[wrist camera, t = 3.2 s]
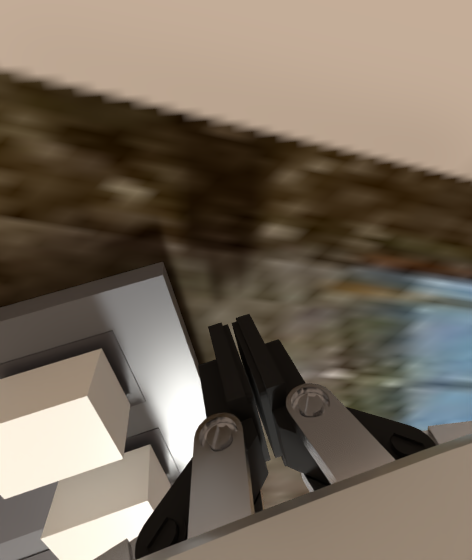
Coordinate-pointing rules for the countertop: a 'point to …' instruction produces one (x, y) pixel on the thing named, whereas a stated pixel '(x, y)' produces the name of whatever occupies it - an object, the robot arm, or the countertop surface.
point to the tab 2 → (104, 505)
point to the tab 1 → (60, 422)
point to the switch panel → (125, 364)
